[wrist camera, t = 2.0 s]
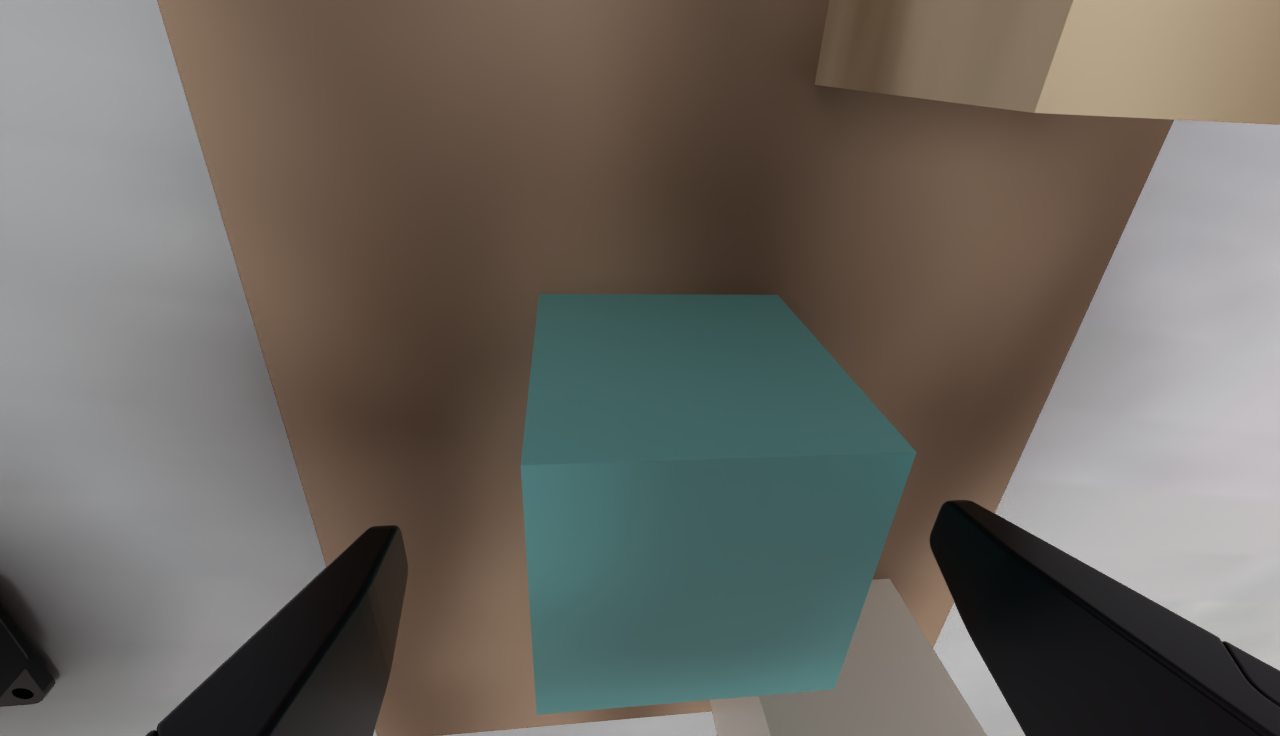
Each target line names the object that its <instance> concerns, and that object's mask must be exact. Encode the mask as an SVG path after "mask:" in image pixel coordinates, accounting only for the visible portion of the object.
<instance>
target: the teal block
mask: <svg viewBox="0 0 1280 736" xmlns="http://www.w3.org/2000/svg"><path fill="white" fill-rule="evenodd" d="M916 453H917V452H916V451H915V450H914V449H913V448H912V446H911V445H910V444H909V443H908V442H907V441H906V440H905V439H904V437H903V436H902V435H901V434H900V433H899V432H898V431H897V429H896V428H895V427H894V426H893V425H892V424H891V423H890V422H889V420H888V419H887V418H886V417H885V416H884V415H883V414H882V412H881V411H880V410H879V409H878V408H877V407H876V406H875V405H874V403H873V402H872V401H871V400H870V399H869V398H868V397H867V395H866V394H865V393H864V392H863V391H862V390H861V389H860V387H859V386H858V385H857V384H856V383H855V382H854V381H853V380H852V378H851V377H850V376H849V375H848V374H847V373H846V372H845V370H844V369H843V368H842V367H841V366H840V365H839V364H838V363H837V361H836V360H835V359H834V358H833V357H832V356H831V355H830V353H829V352H828V351H827V350H826V349H825V348H824V347H823V346H822V344H821V343H820V342H819V341H818V340H817V339H816V338H815V336H814V335H813V334H812V333H811V332H810V331H809V330H808V328H807V327H806V326H805V325H804V324H803V323H802V322H801V321H800V319H799V318H798V317H797V316H796V315H795V314H794V313H793V311H792V310H791V309H790V308H789V307H788V306H787V305H786V304H785V302H784V301H783V300H782V299H781V298H780V297H779V296H778V295H704V294H539V298H538V307H537V317H536V326H535V335H534V345H533V354H532V363H531V373H530V382H529V391H528V401H527V410H526V419H525V429H524V438H523V447H522V457H521V479H522V495H523V511H524V526H525V542H526V558H527V573H528V589H529V604H530V620H531V636H532V651H533V667H534V683H535V698H536V714H537V715H541V714H553V713H564V712H576V711H587V710H599V709H611V708H622V707H634V706H645V705H657V704H669V703H680V702H692V701H703V700H715V699H727V698H738V697H750V696H761V695H773V694H785V693H796V692H808V691H819V690H831V689H835V686H836V683H837V680H838V677H839V675H840V672H841V669H842V666H843V663H844V660H845V657H846V654H847V652H848V649H849V646H850V643H851V640H852V637H853V634H854V631H855V628H856V626H857V623H858V620H859V617H860V614H861V611H862V608H863V605H864V603H865V600H866V597H867V594H868V591H869V588H870V585H871V582H872V579H873V577H874V574H875V571H876V568H877V565H878V562H879V559H880V556H881V553H882V551H883V548H884V545H885V542H886V539H887V536H888V533H889V530H890V528H891V525H892V522H893V519H894V516H895V513H896V510H897V507H898V504H899V502H900V499H901V496H902V493H903V490H904V487H905V484H906V481H907V478H908V476H909V473H910V470H911V467H912V464H913V461H914V458H915V455H916Z"/></svg>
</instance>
